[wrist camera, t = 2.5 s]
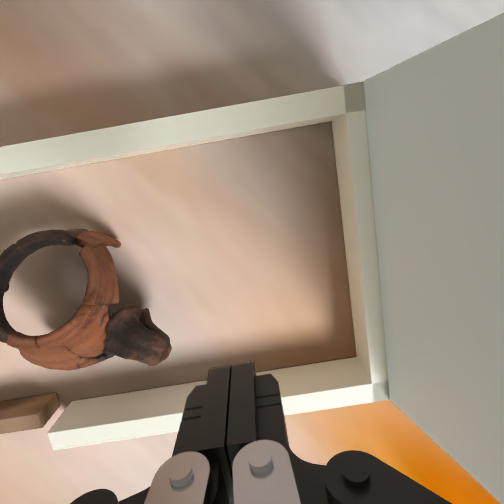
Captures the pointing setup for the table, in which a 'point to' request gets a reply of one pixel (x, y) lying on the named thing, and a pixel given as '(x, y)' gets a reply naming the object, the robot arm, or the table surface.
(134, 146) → the cold frame
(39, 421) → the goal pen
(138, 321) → the pottery mug
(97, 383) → the table surface
